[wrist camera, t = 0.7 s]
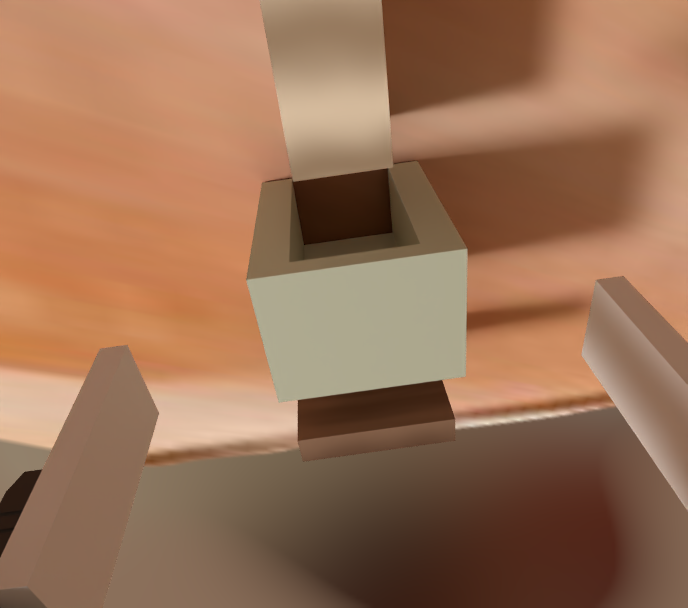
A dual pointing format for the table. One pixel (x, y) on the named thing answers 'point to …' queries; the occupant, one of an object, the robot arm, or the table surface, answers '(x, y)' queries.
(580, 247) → the table surface
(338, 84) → the peg
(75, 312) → the table surface
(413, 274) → the block
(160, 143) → the table surface
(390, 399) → the wall
